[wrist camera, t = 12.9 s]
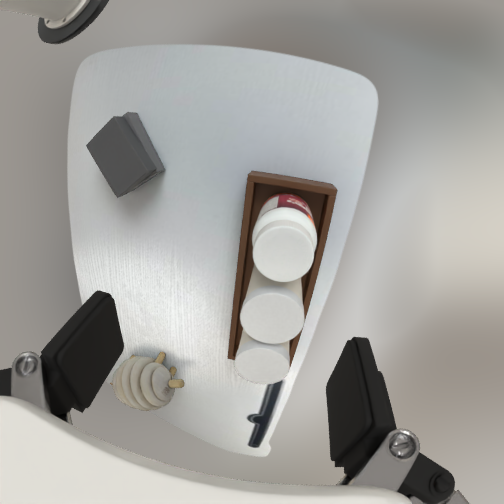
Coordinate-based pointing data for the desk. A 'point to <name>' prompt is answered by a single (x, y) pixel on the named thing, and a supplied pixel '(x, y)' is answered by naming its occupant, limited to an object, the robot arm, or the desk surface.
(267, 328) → the white bottle
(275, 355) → the white bottle
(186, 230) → the desk surface
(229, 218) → the desk surface
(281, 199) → the pill bottle
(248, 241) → the tray
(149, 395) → the toy sheep
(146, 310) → the desk surface
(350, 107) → the desk surface
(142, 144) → the grey books
